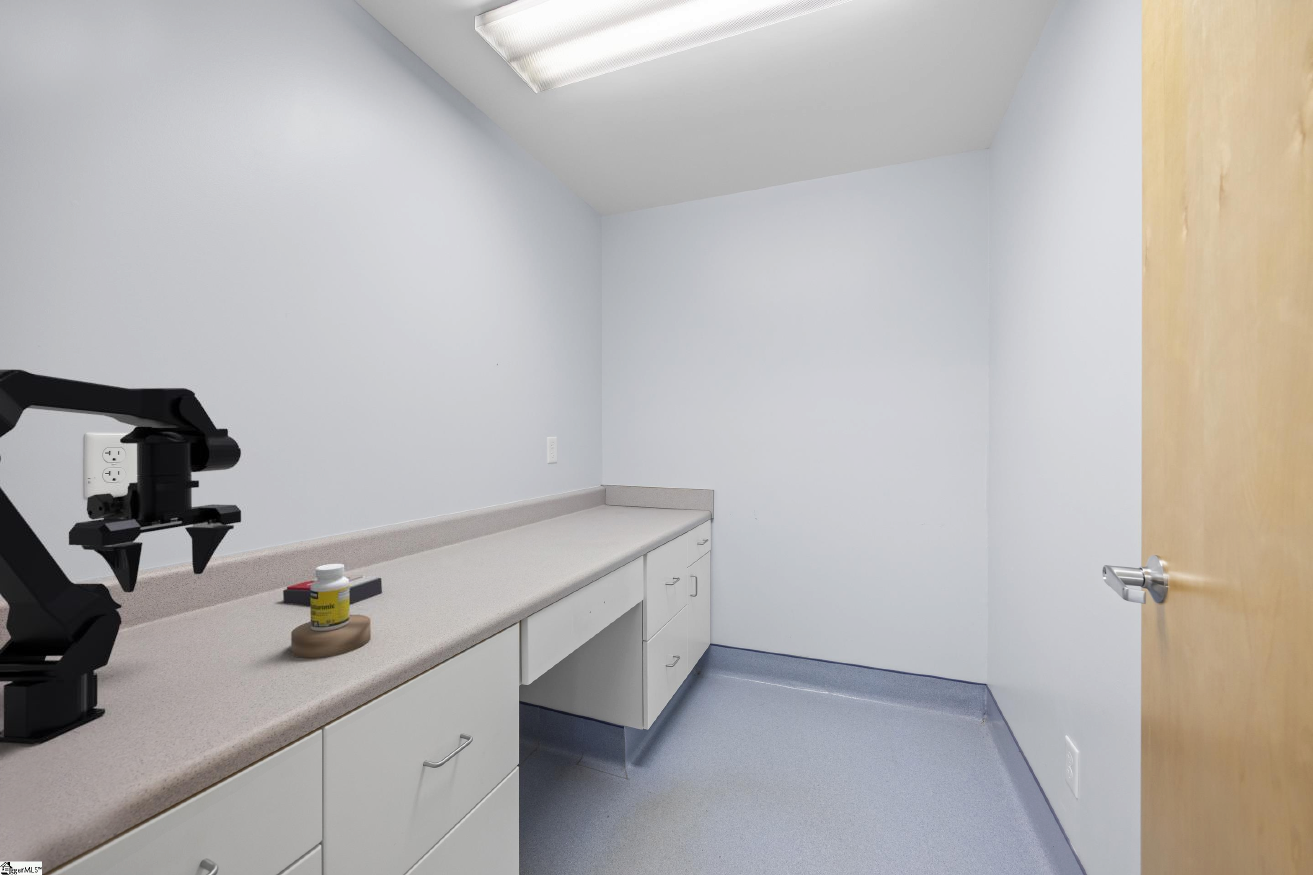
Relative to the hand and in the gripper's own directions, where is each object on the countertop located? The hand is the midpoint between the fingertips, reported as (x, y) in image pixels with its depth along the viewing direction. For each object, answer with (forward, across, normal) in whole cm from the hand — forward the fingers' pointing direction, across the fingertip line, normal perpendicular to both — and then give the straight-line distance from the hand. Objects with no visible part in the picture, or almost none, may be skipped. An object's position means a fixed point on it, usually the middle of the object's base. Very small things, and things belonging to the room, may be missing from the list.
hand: (165, 582), depth 75 cm
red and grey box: (+14, -35, -3) cm, 38 cm away
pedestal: (+13, -12, +16) cm, 24 cm away
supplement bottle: (+10, -12, +16) cm, 23 cm away
